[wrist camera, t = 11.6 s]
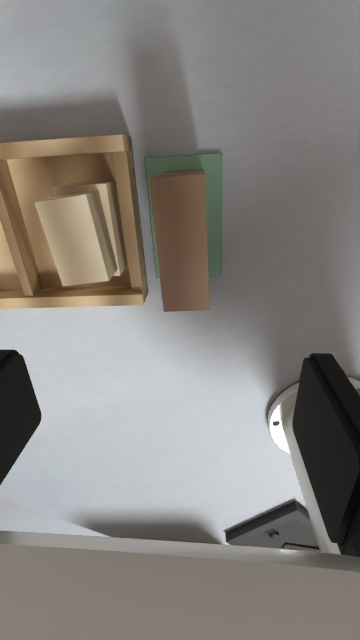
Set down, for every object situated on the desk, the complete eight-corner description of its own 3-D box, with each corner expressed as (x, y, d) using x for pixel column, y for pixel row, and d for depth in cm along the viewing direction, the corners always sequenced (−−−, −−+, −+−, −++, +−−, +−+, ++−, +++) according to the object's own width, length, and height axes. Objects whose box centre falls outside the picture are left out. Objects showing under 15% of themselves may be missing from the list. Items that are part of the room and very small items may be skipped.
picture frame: (357, 547, 50) (293, 496, 45) (364, 563, 48) (298, 512, 43) (289, 572, 55) (224, 528, 49) (293, 587, 53) (225, 544, 48)
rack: (130, 137, 24) (122, 134, 21) (148, 291, 30) (143, 304, 27) (-74, 150, 25) (-106, 150, 22) (-17, 296, 31) (-37, 309, 28)
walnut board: (202, 168, 24) (204, 174, 16) (206, 266, 28) (209, 309, 20) (165, 171, 24) (149, 178, 16) (173, 268, 28) (163, 311, 20)
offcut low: (115, 181, 24) (106, 183, 22) (127, 265, 28) (120, 275, 25) (67, 184, 25) (52, 186, 22) (84, 266, 28) (73, 277, 25)
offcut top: (98, 190, 22) (86, 194, 20) (117, 268, 25) (108, 280, 22) (52, 197, 23) (34, 202, 20) (76, 273, 25) (63, 286, 23)
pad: (221, 153, 24) (221, 153, 23) (220, 274, 28) (220, 276, 28) (145, 158, 24) (144, 158, 24) (156, 276, 29) (156, 278, 29)
